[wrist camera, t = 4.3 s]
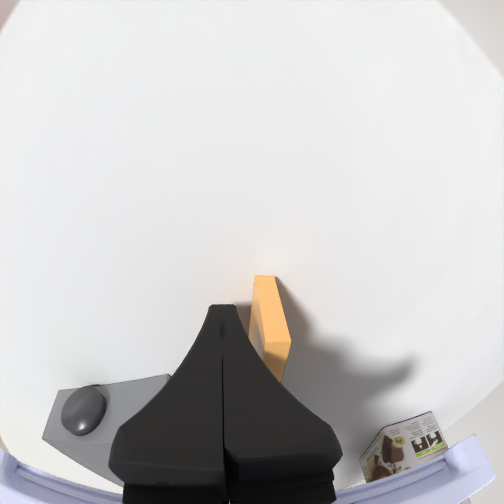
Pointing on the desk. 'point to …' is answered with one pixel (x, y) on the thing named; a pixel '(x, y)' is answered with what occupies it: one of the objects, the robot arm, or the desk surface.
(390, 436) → the coffee box
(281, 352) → the side door
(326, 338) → the desk surface
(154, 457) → the robot arm
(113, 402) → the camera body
